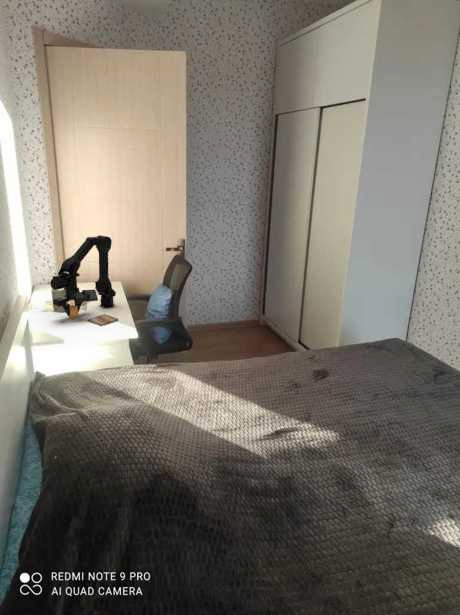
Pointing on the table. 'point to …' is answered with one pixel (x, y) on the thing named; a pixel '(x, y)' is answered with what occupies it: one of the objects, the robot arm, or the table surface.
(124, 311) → the table surface
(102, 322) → the walnut pad
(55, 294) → the skincare box
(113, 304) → the robot arm
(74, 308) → the orange cylinder
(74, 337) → the table surface
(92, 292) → the smart home device
